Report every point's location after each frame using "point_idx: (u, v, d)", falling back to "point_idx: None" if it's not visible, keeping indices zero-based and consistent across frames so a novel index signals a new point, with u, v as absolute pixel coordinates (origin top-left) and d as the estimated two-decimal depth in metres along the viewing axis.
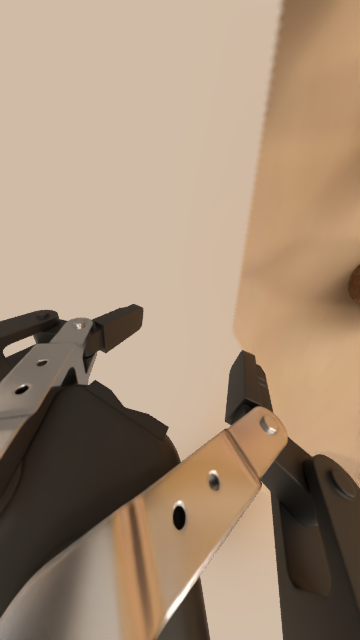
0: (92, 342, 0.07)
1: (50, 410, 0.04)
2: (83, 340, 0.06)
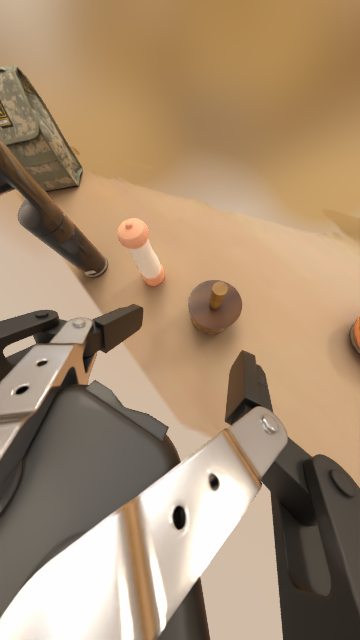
0: (92, 342, 0.07)
1: (50, 410, 0.04)
2: (83, 340, 0.06)
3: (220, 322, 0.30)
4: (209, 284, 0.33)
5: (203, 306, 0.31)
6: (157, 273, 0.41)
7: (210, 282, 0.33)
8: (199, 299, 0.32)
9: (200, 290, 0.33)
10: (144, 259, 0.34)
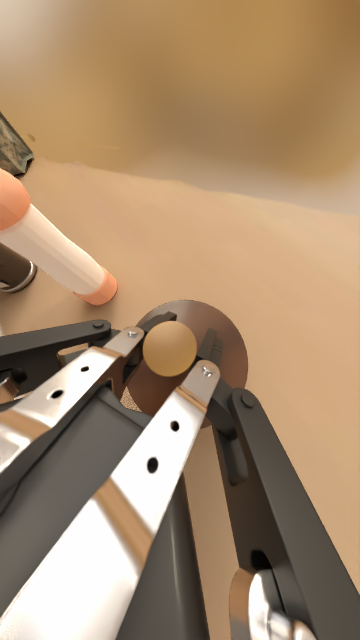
0: (142, 350, 0.08)
1: (68, 426, 0.04)
2: (128, 352, 0.06)
3: None
4: (173, 309, 0.15)
5: None
6: (94, 286, 0.23)
7: (176, 305, 0.15)
8: None
9: None
10: (46, 261, 0.17)
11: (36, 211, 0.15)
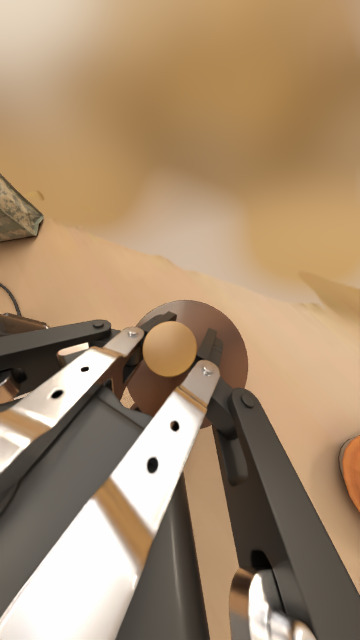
0: (142, 350, 0.08)
1: (68, 426, 0.04)
2: (128, 352, 0.06)
3: None
4: (173, 309, 0.15)
5: None
6: None
7: (176, 305, 0.15)
8: None
9: None
10: None
11: None
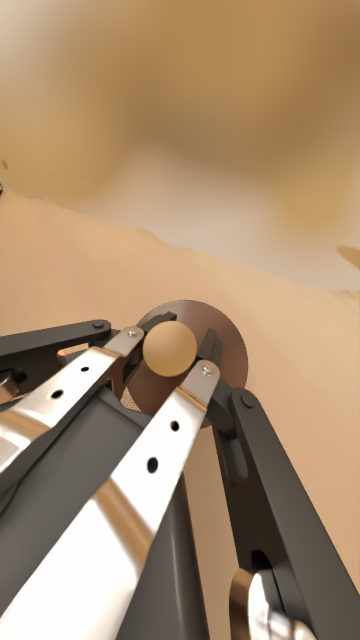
0: (142, 350, 0.08)
1: (69, 426, 0.04)
2: (129, 352, 0.06)
3: None
4: (173, 309, 0.15)
5: None
6: None
7: (176, 305, 0.15)
8: None
9: None
10: None
11: None
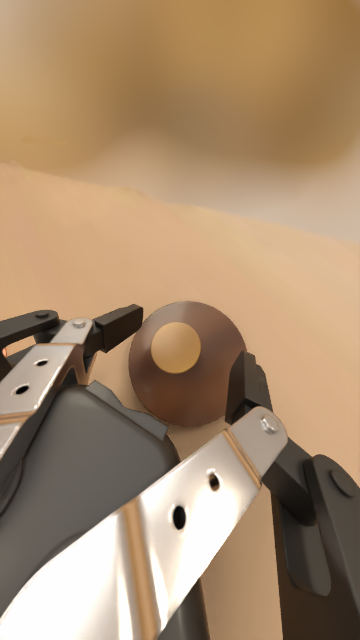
0: (92, 342, 0.07)
1: (50, 410, 0.04)
2: (83, 340, 0.06)
3: (197, 406, 0.12)
4: (176, 310, 0.16)
5: None
6: None
7: (178, 306, 0.16)
8: None
9: (156, 323, 0.15)
10: None
11: None
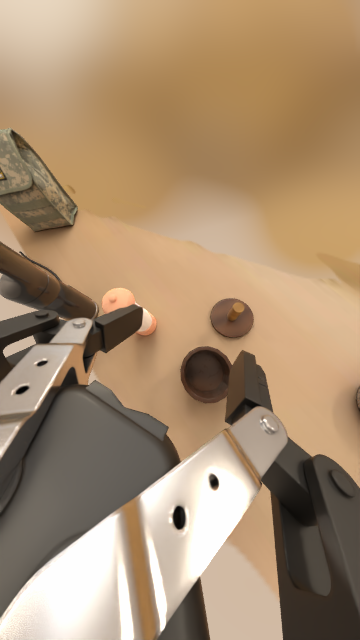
0: (92, 342, 0.07)
1: (50, 410, 0.04)
2: (83, 340, 0.06)
3: (237, 331, 0.39)
4: (226, 301, 0.42)
5: (223, 319, 0.40)
6: (147, 327, 0.39)
7: (227, 300, 0.42)
8: (219, 313, 0.41)
9: (219, 306, 0.42)
10: None
11: None
